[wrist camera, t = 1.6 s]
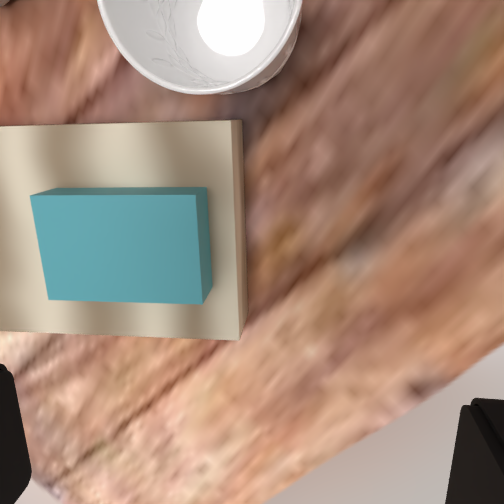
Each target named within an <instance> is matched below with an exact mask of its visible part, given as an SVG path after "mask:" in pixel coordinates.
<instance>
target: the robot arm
mask: <svg viewBox="0 0 504 504" xmlns="http://www.w3.org/2000/svg"><path fill="white" fill-rule="evenodd" d="M31 473H32V470H31V463H30V458H29V453H28V448H27V443H26V438H25V433H24V428H23V423H22V418H21V413H20V408H19V403H18V398H17V393H16V388H15V383H14V378H13V375H12V373H11V372H9V371H8V370H7V368H6V367H5V366H4V365H3V364H0V504H14V503H15V502H16V501H17V499H18V498H19V497H20V495H21V494H22V493H23V491H24V490H25V488H26V487H27V486H28V484H29V481H30V478H31ZM445 504H504V400H498V399H484V398H474V399H473V400H472V402H471V405H463V406H462V408H461V412H460V418H459V424H458V430H457V436H456V442H455V448H454V454H453V460H452V466H451V472H450V478H449V484H448V491H447V496H446V502H445Z"/></svg>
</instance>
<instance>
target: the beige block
mask: <svg viewBox="0 0 504 504" xmlns="http://www.w3.org/2000/svg"><path fill="white" fill-rule="evenodd" d="M114 187H207V200H208V217H209V235H210V252H211V269H212V286H213V287H212V289H211V291H210V293H209V294H208V296H207V298H206V300H205V301H204V303H203V305H201V304H167V303H133V302H99V301H65V300H48V295H47V289H46V284H45V278H44V273H43V267H42V262H41V256H40V251H39V245H38V239H37V234H36V228H35V223H34V217H33V212H32V206H31V201H30V195H33V194H36V193H40V192H43V191H47V190H50V189H54V188H114ZM247 315H248V288H247V257H246V226H245V195H244V164H243V133H242V119H240V120H203V121H166V122H129V123H92V124H55V125H18V126H0V331H14V332H39V333H64V334H89V335H114V336H139V337H164V338H189V339H214V340H240V337H241V334H242V331H243V328H244V325H245V321H246V318H247Z"/></svg>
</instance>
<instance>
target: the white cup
mask: <svg viewBox="0 0 504 504" xmlns="http://www.w3.org/2000/svg"><path fill="white" fill-rule="evenodd" d="M97 3H98V7H99V10H100V13H101V16H102V19H103V22H104V24H105V27H106V29H107V31H108V33H109V35H110V37H111V39H112V40H113V42H114V44H115V45H116V47H117V48H118V50H119V51H120V52H121V54H122V55H123V56H124V57H125V59H126V60H127V61H128V62H129V63H130V64H131V65H132V66H133V67H134V68H135V69H136V70H137V71H139V72H140V73H141V74H142V75H144V76H145V77H147V78H148V79H150V80H151V81H153V82H155V83H156V84H158V85H160V86H163V87H165V88H167V89H170V90H173V91H177V92H181V93H186V94H196V95H204V94H232V93H238V92H244V91H248V90H251V89H254V88H259V87H260V86H261V85H263V84H264V83H266V82H267V81H269V80H270V79H272V78H273V77H275V76H276V75H278V74H279V73H280V72H281V70H282V68H283V67H284V65H285V63H286V62H287V60H288V58H289V57H290V55H291V53H292V51H293V50H294V46H295V43H296V40H297V36H298V32H299V28H300V23H301V14H302V5H303V0H97Z"/></svg>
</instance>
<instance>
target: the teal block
mask: <svg viewBox="0 0 504 504" xmlns="http://www.w3.org/2000/svg"><path fill="white" fill-rule="evenodd" d="M30 201H31V206H32V212H33V217H34V223H35V228H36V234H37V239H38V245H39V251H40V256H41V262H42V267H43V273H44V278H45V284H46V289H47V295H48V300H65V301H99V302H133V303H167V304H201V305H203V303H204V301H205V300H206V298H207V296H208V294H209V293H210V291H211V289H212V287H213V286H212V269H211V252H210V235H209V217H208V200H207V187H114V188H54V189H50V190H47V191H43V192H40V193H36V194H33V195H30Z"/></svg>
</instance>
